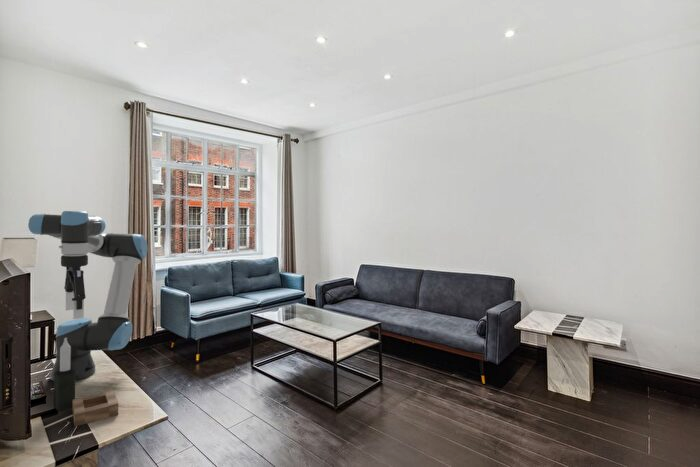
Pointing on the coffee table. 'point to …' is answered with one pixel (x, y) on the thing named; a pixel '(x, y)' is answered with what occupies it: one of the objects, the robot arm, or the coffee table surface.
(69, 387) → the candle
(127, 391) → the coffee table surface
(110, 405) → the block
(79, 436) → the coffee table surface
